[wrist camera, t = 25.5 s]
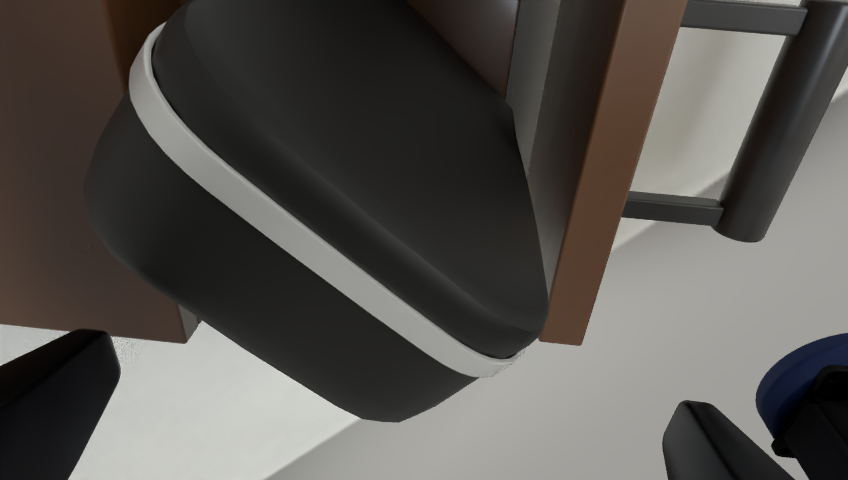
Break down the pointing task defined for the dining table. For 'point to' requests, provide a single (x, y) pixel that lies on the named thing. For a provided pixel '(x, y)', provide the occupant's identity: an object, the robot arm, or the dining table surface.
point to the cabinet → (66, 173)
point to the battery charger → (326, 197)
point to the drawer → (632, 118)
